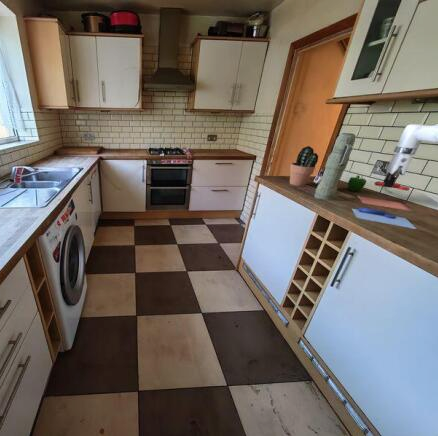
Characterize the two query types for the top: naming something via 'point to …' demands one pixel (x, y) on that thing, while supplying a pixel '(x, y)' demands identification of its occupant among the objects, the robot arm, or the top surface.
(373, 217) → the blue mat
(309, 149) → the potted plant
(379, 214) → the blue spoon
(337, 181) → the stone statue
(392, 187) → the red spoon
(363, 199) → the red mat
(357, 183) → the bell pepper
